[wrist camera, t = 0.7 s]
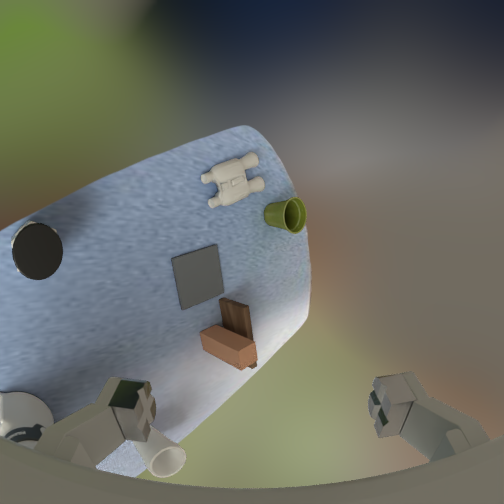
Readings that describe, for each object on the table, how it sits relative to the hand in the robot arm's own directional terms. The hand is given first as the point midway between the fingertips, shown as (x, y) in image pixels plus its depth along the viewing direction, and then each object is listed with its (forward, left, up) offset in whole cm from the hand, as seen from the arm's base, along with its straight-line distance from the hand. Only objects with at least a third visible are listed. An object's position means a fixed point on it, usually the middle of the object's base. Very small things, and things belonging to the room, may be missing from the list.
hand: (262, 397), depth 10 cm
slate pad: (+23, -26, -53) cm, 63 cm away
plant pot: (+50, -28, -53) cm, 78 cm away
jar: (-2, +3, -53) cm, 54 cm away
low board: (+21, -43, -53) cm, 72 cm away
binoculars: (+42, -13, -54) cm, 70 cm away
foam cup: (-14, -46, -53) cm, 72 cm away
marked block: (+16, -41, -53) cm, 69 cm away
